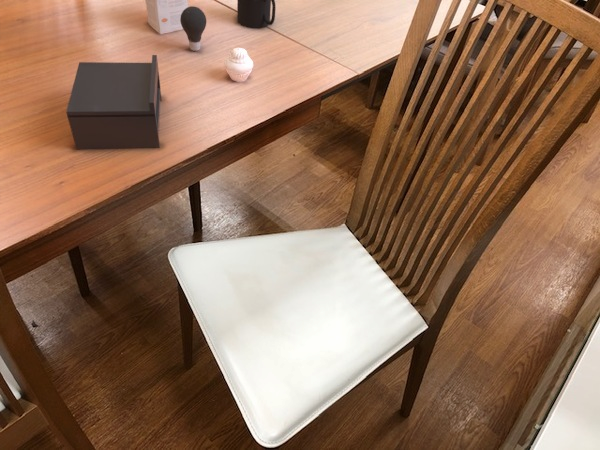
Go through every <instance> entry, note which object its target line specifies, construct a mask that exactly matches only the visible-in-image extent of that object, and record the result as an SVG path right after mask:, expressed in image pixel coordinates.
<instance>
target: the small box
mask: <svg viewBox="0 0 600 450" xmlns="http://www.w3.org/2000/svg"><path fill="white" fill-rule="evenodd" d="M145 7H146V14H147V15H146V16H147V22H148V23H147V24H148V25H149V26H150V27H151V28H153V30H154V31H156V32H157V33H158V34H159V35H164V34H168V33H172V32H173V33H174V32H178V31H182V30H184V29H183V28H182V25H181V22H180V18H181V14H182V12H183V11H184V10H185V9H186V8H187V7H189V0H145Z"/></svg>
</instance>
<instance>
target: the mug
mask: <svg viewBox="0 0 600 450" xmlns="http://www.w3.org/2000/svg"><path fill="white" fill-rule="evenodd" d="M236 1H237V2H236V3H237V6H236V7H237V8H236V9H237V13H236V14H237V15H236V16H237V17H236V21H237V23H238V24H239V25H240V26H242V27H245V28H248V29H254V30H255V29H256V30H257V29H258V30H259V29H264V28H267V27H268V26H272V25H273V24H274V22H275V19H276V1H275V0H236Z"/></svg>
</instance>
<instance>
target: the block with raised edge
mask: <svg viewBox="0 0 600 450" xmlns="http://www.w3.org/2000/svg"><path fill="white" fill-rule="evenodd" d="M160 79H161V78H160V72H159V63H158V55H157V54H152V55H151V62H108V61H107V62H105V61H104V62H102V61H101V62H95V61H90V62H89V61H88V62H87V61H79V62H78V65H77V69H76V73H75V76H74V81H73V85H72V88H71V92H70V96H69V100H68V103H67V107H66V111H65V112H66V116H67V119H68V123H69V126H70V130H71V134H72V138H73V141H74V145H75V149H76V151H85V150H87V151H89V150H90V151H91V150H131V149H132V150H133V149H160V147H161V143H160V137H159V133H160V132H159V131H160V109H161V106H160V105H161V101H162V99H163V97H162V89H161V80H160Z"/></svg>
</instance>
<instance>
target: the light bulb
mask: <svg viewBox="0 0 600 450" xmlns="http://www.w3.org/2000/svg"><path fill="white" fill-rule="evenodd" d="M180 22H181V25H182V28H183V29H182V30H183V31H184V32H185V34H186V36H187V40H188V46H189V49H190V50H191V51H193V52H198V51H199V50H201V40H202V36H203V33H204V31H205V29H206V27H207V17H206V14H205V13H204V11H203V10H202V9H201V8H199V7H198V6H193V5H192V6H188V7H187V8H186V9H185V10H184V11H183V12H182V14H181V18H180Z"/></svg>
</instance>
